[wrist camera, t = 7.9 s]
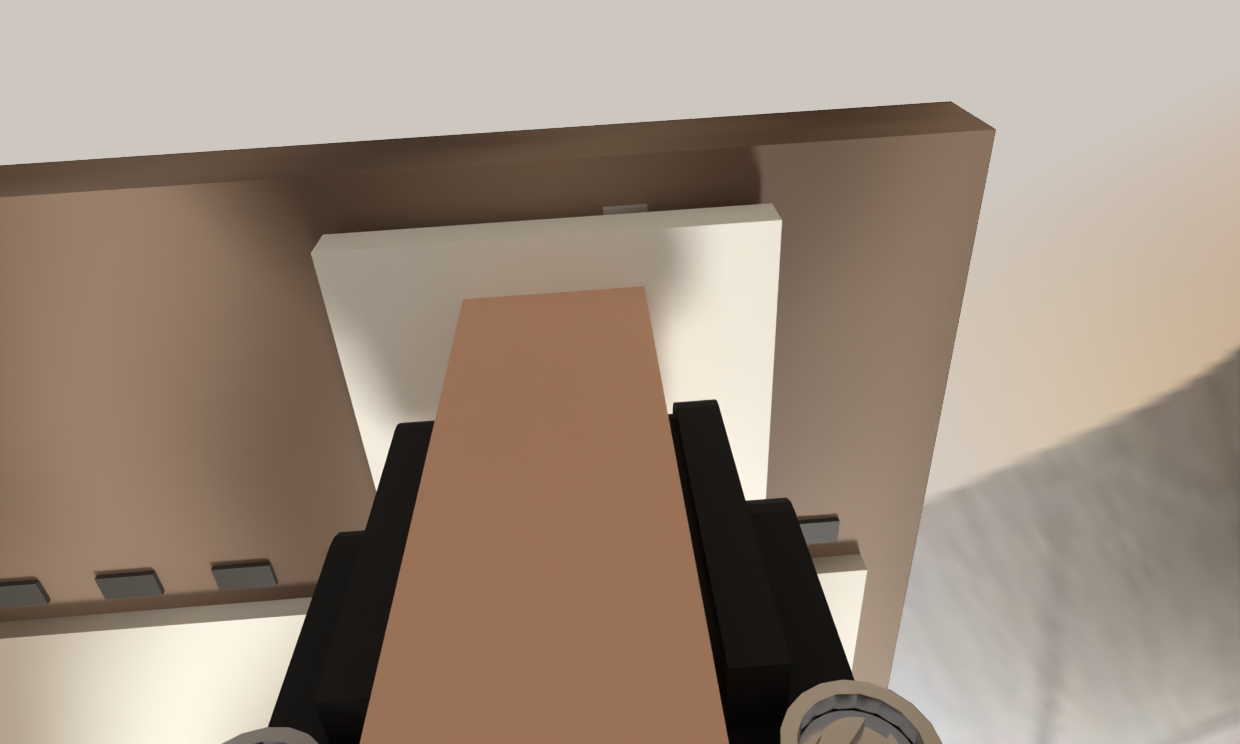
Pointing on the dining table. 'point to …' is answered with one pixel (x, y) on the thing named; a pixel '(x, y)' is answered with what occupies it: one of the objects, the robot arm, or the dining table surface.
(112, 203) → the board
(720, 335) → the stub
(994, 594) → the dining table surface
